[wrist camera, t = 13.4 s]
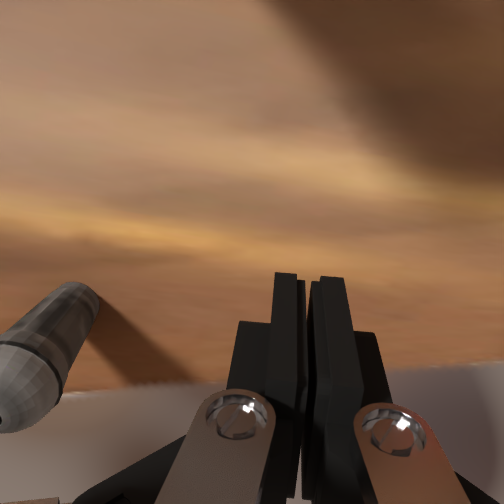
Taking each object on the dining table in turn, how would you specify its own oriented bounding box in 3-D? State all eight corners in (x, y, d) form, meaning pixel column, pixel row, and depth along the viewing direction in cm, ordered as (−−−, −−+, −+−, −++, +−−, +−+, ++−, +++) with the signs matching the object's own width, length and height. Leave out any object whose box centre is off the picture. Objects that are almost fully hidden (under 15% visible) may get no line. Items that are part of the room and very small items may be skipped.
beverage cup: (126, 297, 47) (21, 469, 29) (92, 344, 50) (-24, 528, 32) (60, 255, 45) (-95, 407, 27) (29, 306, 48) (-131, 475, 30)
